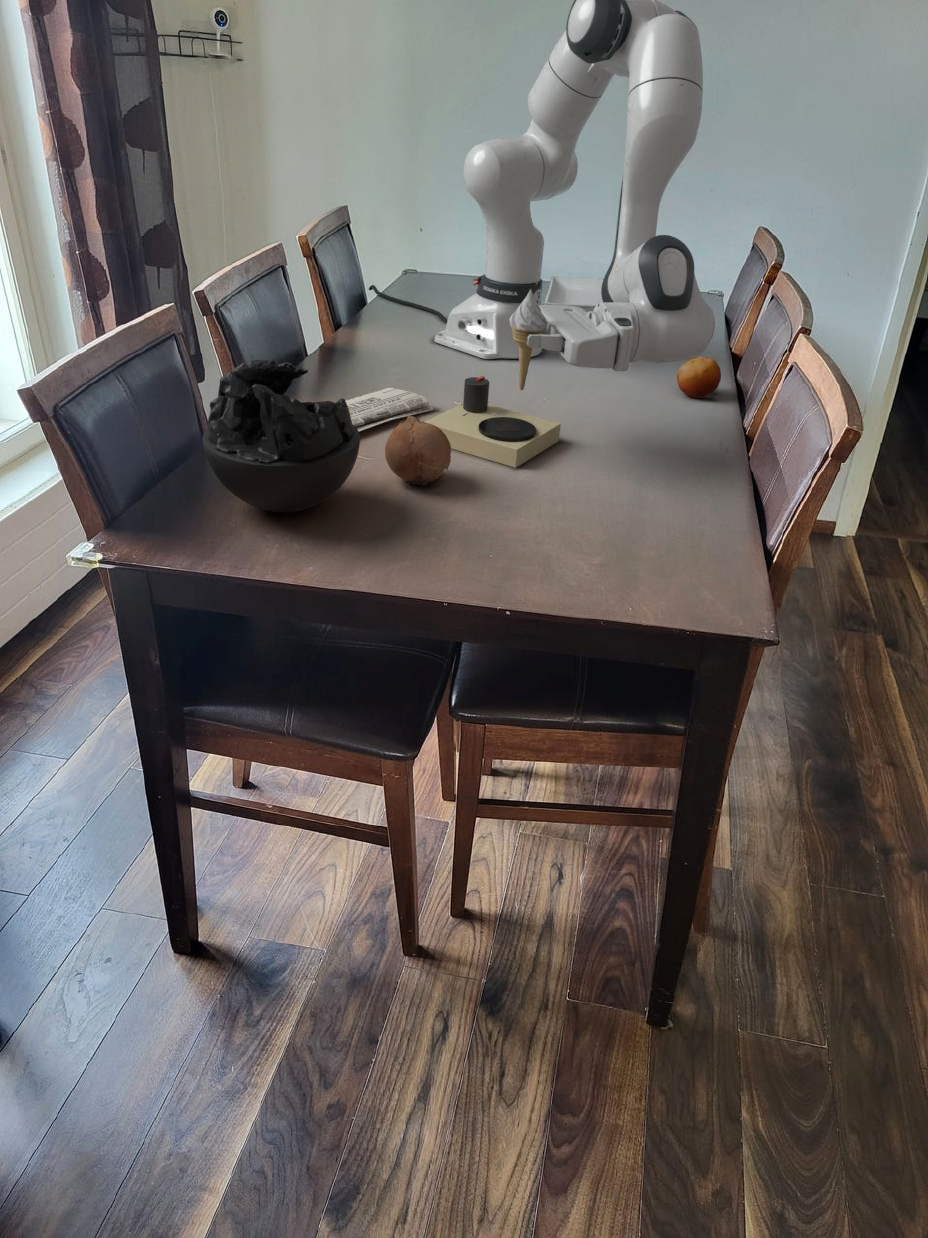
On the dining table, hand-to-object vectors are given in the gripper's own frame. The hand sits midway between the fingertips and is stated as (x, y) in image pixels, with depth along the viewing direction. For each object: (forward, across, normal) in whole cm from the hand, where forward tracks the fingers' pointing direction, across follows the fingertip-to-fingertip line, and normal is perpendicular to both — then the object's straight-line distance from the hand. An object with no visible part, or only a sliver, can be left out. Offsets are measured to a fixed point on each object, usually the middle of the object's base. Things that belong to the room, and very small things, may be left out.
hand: (521, 333), depth 137 cm
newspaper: (+21, -15, +18) cm, 31 cm away
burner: (+1, 0, +15) cm, 15 cm away
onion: (+17, +11, +18) cm, 27 cm away
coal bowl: (+36, +17, +18) cm, 44 cm away
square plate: (-45, -84, +18) cm, 97 cm away
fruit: (-42, -22, +18) cm, 51 cm away
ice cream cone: (-1, 0, +9) cm, 9 cm away
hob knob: (+4, -10, +15) cm, 18 cm away
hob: (+2, -3, +18) cm, 18 cm away
